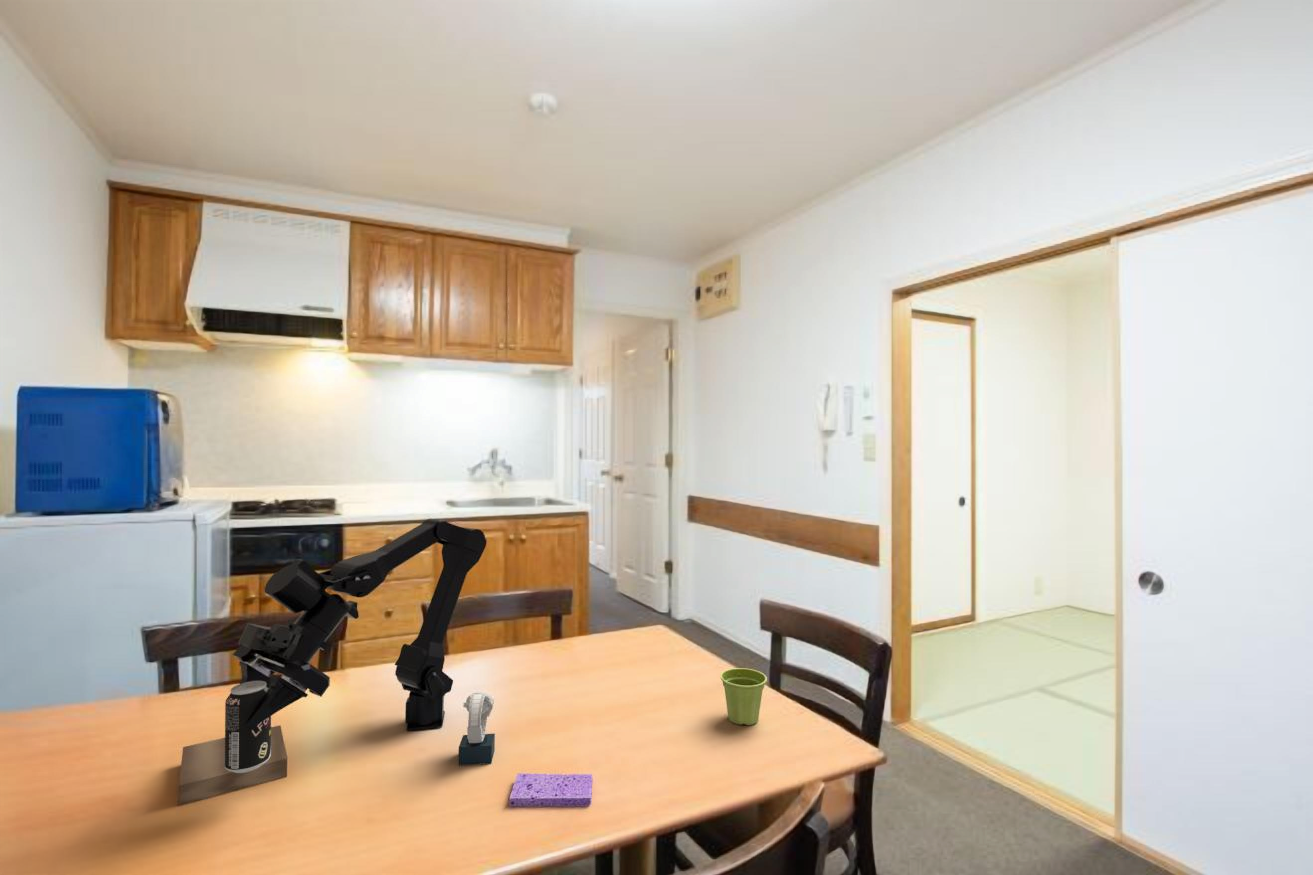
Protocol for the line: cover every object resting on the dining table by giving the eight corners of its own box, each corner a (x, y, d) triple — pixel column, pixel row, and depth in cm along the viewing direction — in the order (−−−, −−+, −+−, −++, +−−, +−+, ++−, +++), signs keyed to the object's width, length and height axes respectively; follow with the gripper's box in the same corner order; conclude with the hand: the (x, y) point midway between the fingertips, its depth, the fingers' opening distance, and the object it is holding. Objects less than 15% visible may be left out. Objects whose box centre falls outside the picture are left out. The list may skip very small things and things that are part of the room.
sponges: (517, 783, 98) (517, 772, 98) (593, 783, 98) (594, 772, 98) (508, 809, 91) (508, 797, 91) (591, 809, 91) (591, 796, 91)
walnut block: (280, 741, 109) (280, 725, 109) (286, 776, 98) (287, 758, 98) (182, 764, 101) (183, 746, 101) (178, 805, 90) (178, 785, 90)
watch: (495, 745, 109) (497, 685, 109) (489, 768, 101) (491, 704, 101) (464, 746, 108) (465, 686, 109) (455, 770, 101) (457, 705, 101)
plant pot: (745, 734, 115) (746, 689, 115) (710, 717, 122) (710, 675, 122) (775, 720, 121) (776, 677, 121) (740, 704, 128) (741, 664, 128)
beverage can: (271, 752, 94) (271, 675, 94) (270, 769, 89) (270, 688, 89) (226, 762, 91) (227, 683, 91) (222, 780, 86) (223, 697, 86)
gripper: (246, 593, 98) (164, 683, 89) (310, 610, 89) (226, 713, 79) (295, 627, 105) (223, 715, 96) (359, 647, 96) (287, 746, 86)
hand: (238, 721), depth 89 cm, fingers closed on beverage can, 5 cm apart
